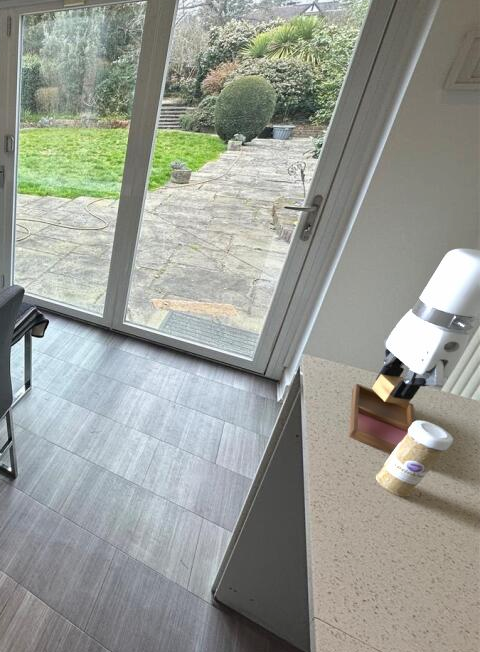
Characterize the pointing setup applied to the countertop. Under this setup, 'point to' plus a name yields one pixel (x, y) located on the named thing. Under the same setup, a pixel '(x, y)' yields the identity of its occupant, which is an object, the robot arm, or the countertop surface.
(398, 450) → the sprinkles bottle
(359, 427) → the tray
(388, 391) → the oak block
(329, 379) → the countertop surface
